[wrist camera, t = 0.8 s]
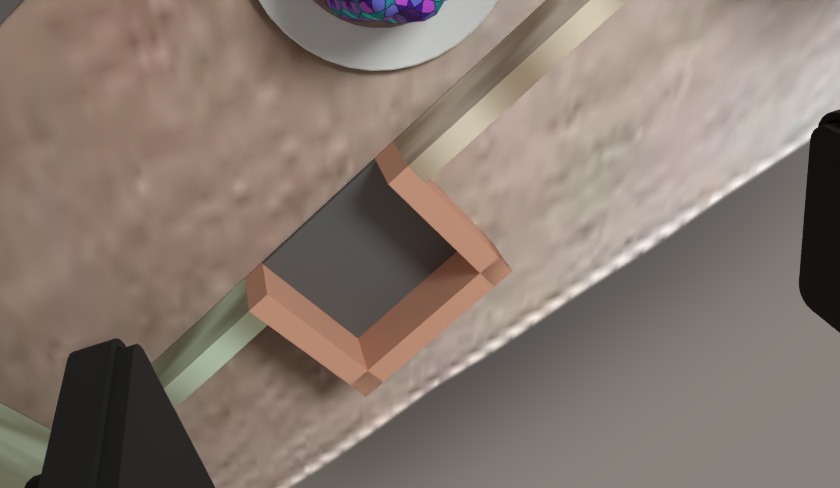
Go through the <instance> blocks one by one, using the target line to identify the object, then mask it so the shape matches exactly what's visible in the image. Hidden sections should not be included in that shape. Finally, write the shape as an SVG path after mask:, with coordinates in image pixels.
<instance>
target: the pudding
mask: <svg viewBox="0 0 840 488" xmlns="http://www.w3.org/2000/svg"><path fill="white" fill-rule="evenodd" d="M259 2H260V3H261V5H262V6H263V8H264V10H265V11H266V13H267V14H268V16H269V17H270V18H271V19H272V20H273V21H274V22H275V23H276V24H277V25H278V26H279V28H280V29H281V30H282V31H283V32H284V33H285V34H286V35H287V36H289V37H290V38H291V39H292V40H294V41H295V42H296V43H298V44H299V45H300V46H301V47H303V48H304V49H306V50H307V51H309V52H311V53H313V54H315V55H317V56H319V57H321V58H323V59H324V60H326V61H329V62H333V63H336V64H339V65H342V66H345V67H348V68H355V69H362V70H369V71H380V70H396V69H401V68H406V67H410V66H415V65H418V64H421V63H423V62H426V61H428V60H431V59H433V58H435V57H438V56H440V55H441V54H443V53H444V52H446V51H448V50H449V49H451V48H453V47H454V46H456V45H458V44H459V43H460V42H461V41H462V40H463V39H465V38H466V37H467V36H468V35H469V34H470V33H471V32H473V31H474V30H475V29H476V28H477V27H478V26H479V24H480V23H481V22H482V21H483V20H484V18H485V17H486V16H487V15H488V14H489V12H490V11H491V10H492V8H493V7H494V5H495V3H496V2H497V0H326V2H327V5H328V8H329V9H331V10H332V11H333V12H335V13H336V14H338V15H339V16H340V17H342V18H345V19H350V20H355V21H386V22H388V23H407V24H404V25H400V26H395V27H390V28H370V27H364V26H358V25H354V24H352V23H349V22H346V21H343V20H340V19H339V18H337V17H335V16H333V15H332V14H330V13H328V12H326V11H325V10H324V9H323V8H321V7H320V6H319V5H318V4H317V3H315V2H314V1H313V0H259ZM409 22H410V23H409Z"/></svg>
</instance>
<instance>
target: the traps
mask: <svg viewBox="0 0 840 488" xmlns="http://www.w3.org/2000/svg"><path fill="white" fill-rule="evenodd" d="M21 1H22V0H0V23H1V22H2V21H3V20H4V19H5V18H6V17H7V16H8V15H9V14H10V13H11V12H12V11H13V10H14V9H15V7H16V6H17V5H18V4H19V3H20V2H21ZM511 272H512V270H511V269H510V267H509V266H508V264H507V263H506V261H505V260H504V258H503V257H502V256H501V254H500V253H499V251H498V250H497V248H496V247H495V246H494V244H493V243H492V242H491V241H490V240H489V239H488V238H487V237H486V235H485V234H484V233H483V232H482V231H481V230H480V229H479V228H478V227H477V226H476V225H475V224H474V223H473V222H472V221H471V220H470V219H469V218H468V217H467V216H466V215H465V214H464V213H463V212H462V211H461V210H460V209H459V208H458V207H457V206H456V205H455V204H454V203H453V202H452V201H451V200H450V199H449V198H448V197H447V196H446V195H445V194H444V193H443V192H442V191H441V190H440V189H439V188H438V187H437V186H436V185H435V184H434V183H433V182H432V181H431V180H430V179H429V180H428V181H427V182H426V183H424V182H423V181H422V180H421V179H420V178H419V177H418V176H417V175H416V174H415V173H414V172H413V171H412V170H411V169H410V168H409V167H408V165H407V164H406V162H405V160H404V159H403V157H402V155H401V154H400V152H399V150H398V149H397V147H396V145H395V144H394V142H392V143H391V144H390V145H389V146H388V147H387V148H386V149H385V150H384V151H382V152H381V153H380V154H379V155H378V156H377V157H376V158H375V159H374V160H373V161H372V162H370V163H369V164H368V165H367V166H366V167H365V168H364V169H363V170H362V171H361V172H360V173H359V174H357V175H356V176H355V177H354V178H353V179H352V180H351V181H350V182H349V183H348V184H347V185H346V186H344V187H343V188H342V189H341V190H340V191H339V192H338V193H337V194H336V195H335V196H334V197H333V198H331V199H330V200H329V201H328V202H327V203H326V204H325V205H324V206H323V207H322V208H321V209H319V210H318V211H317V212H316V213H315V214H314V215H313V216H312V217H311V218H310V219H309V220H308V221H306V222H305V223H304V224H303V225H302V226H301V227H300V228H299V229H298V230H297V231H296V232H295V233H293V234H292V235H291V236H290V237H289V238H288V239H287V240H286V241H285V242H284V243H283V244H282V245H280V246H279V247H278V248H277V249H276V250H275V251H274V252H273V253H272V254H271V255H270V256H268V257H267V258H266V259H265V260H264V261H263V262H262V263H261V264H260V265H259V266H258V267H257V268H255V269H254V270H253V271H252V272H251V273H250V274H249V275H248V276H247V277H246V278H245V280H246V290H247V299H248V308H249V312H251V313H252V314H253V315H255V316H256V317H257V318H259V319H260V320H262V321H263V322H264V323H266V324H267V325H268V326H270V327H271V328H273V329H274V330H275V331H277V332H278V333H279V334H281V335H282V336H284V337H285V338H286V339H288V340H289V341H290V342H292V343H293V344H295V345H296V346H297V347H299V348H300V349H301V350H303V351H304V352H306V353H307V354H308V355H310V356H311V357H312V358H314V359H315V360H316V361H318V362H319V363H321V364H322V365H323V366H325V367H326V368H327V369H329V370H330V371H332V372H333V373H334V374H336V375H337V376H338V377H340V378H341V379H343V380H344V381H345V382H347V383H348V384H349V385H351V386H352V387H354V388H355V389H356V390H358V391H359V392H360V393H362V394H363V395H365V396H367V395H369V394H370V393H371V392H372V391H373V390H374V389H376V388H377V387H378V386H379V385H380V384H381V383H383V382H384V381H385V380H386V379H387V378H388V377H390V376H391V375H392V374H393V373H394V372H395V371H397V370H398V369H399V368H400V367H401V366H402V365H404V364H405V363H406V362H407V361H408V360H409V359H411V358H412V357H413V356H414V355H415V354H416V353H418V352H419V351H420V350H421V349H422V348H423V347H425V346H426V345H427V344H428V343H429V342H430V341H432V340H433V339H434V338H435V337H436V336H437V335H439V334H440V333H441V332H442V331H443V330H444V329H445V328H447V327H448V326H449V325H450V324H451V323H452V322H454V321H455V320H456V319H457V318H458V317H459V316H461V315H462V314H463V313H464V312H465V311H466V310H468V309H469V308H470V307H471V306H472V305H473V304H475V303H476V302H477V301H478V300H479V299H480V298H482V297H483V296H484V295H485V294H486V293H487V292H489V291H490V290H491V289H492V288H493V287H494V286H496V285H497V284H498V283H499V282H500V281H501V280H503V279H504V278H505V277H506V276H507V275H508V274H510V273H511Z"/></svg>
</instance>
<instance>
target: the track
mask: <svg viewBox="0 0 840 488" xmlns="http://www.w3.org/2000/svg"><path fill="white" fill-rule="evenodd" d="M626 1H627V0H546V1H545V2H544V3H543V4H542V5H541V6H540V7H539V8H538V9H537V10H535V11H534V12H533V13H532V14H531V15H530V16H529V17H528V18H527V19H526V20H525V21H523V22H522V23H521V24H520V25H519V26H518V27H517V28H516V29H515V30H514V31H513V32H512V33H510V34H509V35H508V36H507V37H506V38H505V39H504V40H503V41H502V42H501V43H500V44H499V45H497V46H496V47H495V48H494V49H493V50H492V51H491V52H490V53H489V54H488V55H487V56H486V57H484V58H483V59H482V60H481V61H480V62H479V63H478V64H477V65H476V66H475V67H474V68H472V69H471V70H470V71H469V72H468V73H467V74H466V75H465V76H464V77H463V78H462V79H461V80H459V81H458V82H457V83H456V84H455V85H454V86H453V87H452V88H451V89H450V90H449V91H448V92H446V93H445V94H444V95H443V96H442V97H441V98H440V99H439V100H438V101H437V102H436V103H435V104H433V105H432V106H431V107H430V108H429V109H428V110H427V111H426V112H425V113H424V114H423V115H421V116H420V117H419V118H418V119H417V120H416V121H415V122H414V123H413V124H412V125H411V126H410V127H408V128H407V129H406V130H405V131H404V132H403V133H402V134H401V135H400V136H399V137H398V138H397V139H395V140H394V141H393V142H394V144H395V145H396V147H397V149H398V150H399V152H400V154H401V155H402V157H403V159H404V160H405V162H406V164H407V165H408V167H409V168H410V169H411V170H412V171H413V172H414V173H415V174H416V175H417V176H418V177H419V178H420V179H421V180H422V181H423V182H424V183H426V182H427V181H428V180H429V179H430V178H431V177H432V176H433V175H435V174H436V173H437V172H438V171H439V170H440V169H441V168H442V167H443V166H444V165H446V164H447V163H448V162H449V161H450V160H451V159H452V158H453V157H454V156H456V155H457V154H458V153H459V152H460V151H461V150H462V149H463V148H464V147H466V146H467V145H468V144H469V143H470V142H471V141H472V140H473V139H474V138H476V137H477V136H478V135H479V134H480V133H481V132H482V131H483V130H484V129H485V128H487V127H488V126H489V125H490V124H491V123H492V122H493V121H494V120H495V119H497V118H498V117H499V116H500V115H501V114H502V113H503V112H504V111H505V110H507V109H508V108H509V107H510V106H511V105H512V104H513V103H514V102H515V101H517V100H518V99H519V98H520V97H521V96H522V95H523V94H524V93H525V92H526V91H528V90H529V89H530V88H531V87H532V86H533V85H534V84H535V83H536V82H538V81H539V80H540V79H541V78H542V77H543V76H544V75H545V74H546V73H548V72H549V71H550V70H551V69H552V68H553V67H554V66H555V65H556V64H558V63H559V62H560V61H561V60H562V59H563V58H564V57H565V56H566V55H567V54H569V53H570V52H571V51H572V50H573V49H574V48H575V47H576V46H577V45H579V44H580V43H581V42H582V41H583V40H584V39H585V38H586V37H587V36H589V35H590V34H591V33H592V32H593V31H594V30H595V29H596V28H597V27H598V26H600V25H601V24H602V23H603V22H604V21H605V20H606V19H607V18H608V17H610V16H611V15H612V14H613V13H614V12H615V11H616V10H617V9H618V8H620V7H621V6H622V5H623V4H624V3H625V2H626ZM266 326H267V324H266V323H264V322H263V321H262V320H260V319H259V318H257V317H256V316H255V315H253V314H252V313H251V312H249V308H248V299H247V290H246V280H245V279H244V280H242V281H241V282H240V283H239V284H238V285H237V286H236V287H235V288H234V289H233V290H232V291H231V292H229V293H228V294H227V295H226V296H225V297H224V298H223V299H222V300H221V301H220V302H219V303H217V304H216V305H215V306H214V307H213V308H212V309H211V310H210V311H209V312H208V313H207V314H206V315H204V316H203V317H202V318H201V319H200V320H199V321H198V322H197V323H196V324H195V325H194V326H193V327H191V328H190V329H189V330H188V331H187V332H186V333H185V334H184V335H183V336H182V337H181V338H180V339H178V340H177V341H176V342H175V343H174V344H173V345H172V346H171V347H170V348H169V349H168V350H166V351H165V352H164V353H163V354H162V355H161V356H160V357H159V358H158V359H157V360H156V361H155V362H153V363H152V364H151V365H152V367H153V369H154V371H155V373H156V375H157V377H158V379H159V380H160V382H161V384H162V386H163V388H164V390H165V392H166V394H167V396H168V398H169V400H170V402H171V404H172V405H173V407H174V409H175V408H176V407H177V406H179V405H180V404H181V403H182V402H183V401H184V400H185V399H186V398H187V397H189V396H190V395H191V394H192V393H193V392H194V391H195V390H196V389H197V388H199V387H200V386H201V385H202V384H203V383H204V382H205V381H206V380H207V379H208V378H210V377H211V376H212V375H213V374H214V373H215V372H216V371H217V370H218V369H220V368H221V367H222V366H223V365H224V364H225V363H226V362H227V361H228V360H230V359H231V358H232V357H233V356H234V355H235V354H236V353H237V352H238V351H240V350H241V349H242V348H243V347H244V346H245V345H246V344H247V343H248V342H249V341H251V340H252V339H253V338H254V337H255V336H256V335H257V334H258V333H259V332H261V331H262V330H263V329H264V328H265V327H266ZM50 433H51V430H50V429H49V428H47V427H45V426H43V425H41V424H39V423H37V422H35V421H33V420H31V419H30V418H28V417H26V416H24V415H22V414H20V413H18V412H16V411H14V410H12V409H10V408H9V407H7V406H5V405H3V404H1V403H0V488H24V487H25V485H26V483H27V482H28V481H29V480H30V479H31V478H32V477H33V476H36V475H39V474H41V472H42V468H43V464H44V459H45V455H46V451H47V446H48V442H49V438H50Z"/></svg>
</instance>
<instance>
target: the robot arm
mask: <svg viewBox="0 0 840 488" xmlns="http://www.w3.org/2000/svg"><path fill="white" fill-rule="evenodd" d="M799 289H800V293H801V296H802V298H803V300H804V301H805V303H806V305H807V306H808V307H809V308H810V309H812V311H814V312H815V313H816V314H817V315H819V316H820V317H821V318H822V319H823V320H825V321H826V322H827V323H828V324H830V325H831V326H832V327H833V328H835V329H836V330H837V331H838V332H840V110H837V111H833V112H830V113H828V114H826V115H825V116H824V117H822V119H821V121H820V123H819V126H818V128H816V129H815V130H814V131H813V133H812V135H811V139H810V149H809V163H808V174H807V187H806V200H805V213H804V225H803V238H802V250H801V263H800V276H799ZM24 488H215V487H214V484H213V482H212V480H211V479H210V477H209V475H208V473H207V471H206V469H205V467H204V465H203V463H202V461H201V459H200V457H199V455H198V454H197V452H196V450H195V448H194V446H193V444H192V442H191V440H190V438H189V436H188V434H187V432H186V430H185V429H184V427H183V425H182V423H181V421H180V419H179V417H178V415H177V413H176V411H175V409H174V407H173V405H172V404H171V402H170V400H169V398H168V396H167V394H166V392H165V390H164V388H163V386H162V384H161V382H160V380H159V379H158V377H157V375H156V373H155V371H154V369H153V367H152V365H151V363H150V361H149V359H148V357H147V355H146V354H145V352H144V350H143V349H142V347H141V346H140V345H138V344H135V345H132V346H129V347H126V346H125V344H124V343H123V342H122V341H121V340H120V339H117V338H116V339H112V340H109V341H106V342H103V343H100V344H97V345H93V346H90V347H87V348H84V349H81V350H78V351H74V352H72V353H71V354H70V355H69V357H68V360H67V364H66V368H65V373H64V377H63V381H62V386H61V390H60V394H59V399H58V403H57V407H56V412H55V416H54V420H53V425H52V429H51V433H50V438H49V442H48V446H47V451H46V455H45V459H44V464H43V468H42V472H41V474H39V475H36V476H33V477H32V478H31V479H30V480H29V481H28V482H27V483H26V485H25V487H24Z"/></svg>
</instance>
